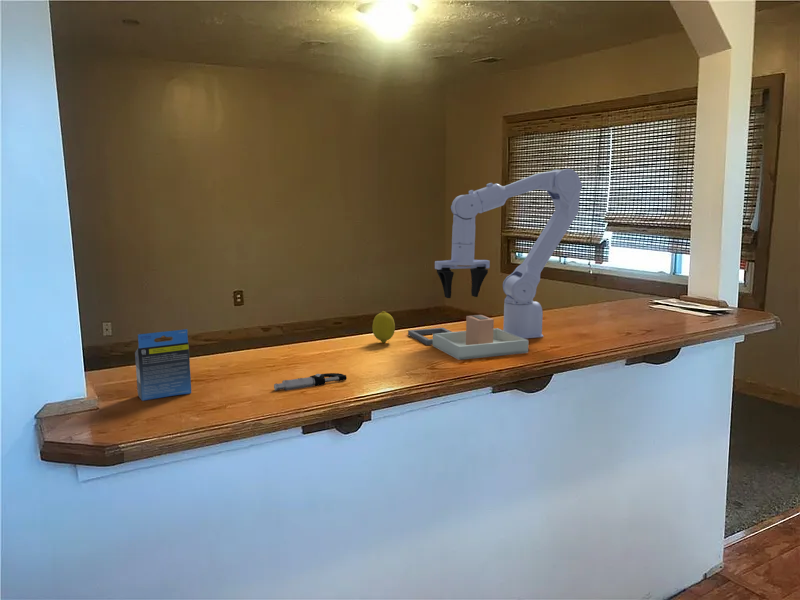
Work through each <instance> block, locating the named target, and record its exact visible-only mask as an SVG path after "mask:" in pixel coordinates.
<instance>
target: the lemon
mask: <svg viewBox="0 0 800 600" xmlns="http://www.w3.org/2000/svg"><path fill="white" fill-rule="evenodd" d="M371 327H372V334H373V335H374V337H375V338H376V339H377V340H379V341H380V342H381V343H382V344H385V343H386V342H387V341H388V340H390V339H392V338H393V336H394V334H395V332H396V331H395V330H396V324H395V320H394V317H393V316H392V315H391V314H390V313H388V312H387V311H386V310H385V311H384V310H382V311H381V312H380V313H378V314H376V315H375V316H374V318H373V320H372V326H371Z"/></svg>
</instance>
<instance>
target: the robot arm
mask: <svg viewBox="0 0 800 600" xmlns="http://www.w3.org/2000/svg"><path fill="white" fill-rule="evenodd" d="M485 185H486V186H484V187H482V188H479V189H476V190H474V189H470V190H468V194H460V195H458V196H455V198H454V199H453V201H452V202H451V205H450V209H451V213H452V214H453V217H452V221H453V222H452V233H451V235H452V236H451V254H450V255H451V258H450V259H448V260H447V259H445V260H435V261H434V270H436V273H437V275H438V277H439V280H440V281H441V286H442V289H443V294H444V298H446V299H451V298H452V284H453V277H454V274H455V272H454V271H452V270H453V269H454V270H457V269H459V270H460V269H462V270H463V269H469V270H470V276H471V288H470V289H471V297H474V298H478V297H479V294H480V293H479V292H480V289H481V286H482V284H483V281H484V279H485V278H486V276H487V275H488V272H489V270H488V269H490V268H491V267H490V266H491V264H490V262H491V260H488V259H475V251H476V250H475V248H476V247H475V246H476V242H475V241H476V216H477V215H478V214H482V213H484V212H485V213H486V212H488V211H491V210H495V209H496V208H500V207H502V206H504V205H505V204H506V201H507V200H508V199H510V198H512V197H516V196H519V195H523V194H526V193H529V192H533V191H535V190H538V191H539V190H540V191H546V192H547V194H548V195H549V196H550V198H551V199H552V202H553V205H554V209H555V210H554V212H553V213H552V215H551V217H550V218H549V220H548V221H547V223H546V225H545V226H544V228H543V229H542V231H541V232H540V234H539V236H538V238H537V239H536V241H535V242H534V244H533V246H532V247H531V249H530V250H529V251H528V254H527V255H526V256H525V259H524V260H523V261H522V263H520V264H519V265H517V267H516V268H515V269H514V270H513V272H511V273H510V274H509V275H507V276H506V277H505V279H504V280H503V282H502V289H503V293H504V294H505V295H506V296H505V298H504V305H503V328H502V330H504V331H506V332H509V333H511V334H514V335H516V336H519V337H521V338H524V339H536V338H544V334H543V307H542V305H541V303H540V302H538V301H536V300H535V301H534V298H535V297H536V294H537V287H538V285H539V283H540V282H541V272H542V271H543V269H544V268H545V267H546V265H547V263H548V261H549V260H550V258H551V257H552V255H553V254H554V252H555V250H556V249H557V248H558V246H559V244H560V242H561V241H562V239H563V237H564V236H565V234H566V232H567V231H568V230H569V228H570V226H571V225H572V223H573V222H574V220H575V219H576V217H577V216H578V213H579V208H580V207H579V206H580V197H581V191H582V189H583V184H582V181H581V179H580V176H579V174H578V172H577V171H576V170H573V169H572V168H563V169H553V170H550V171H544V172H539V173H535V174H532V175H530V176H526V177H525V178H524V177H523V178H522V179H519V180H517V181H514V182H512V183H509V184H506V185H501V184H500V183H493V182H489V183H487V184H485Z"/></svg>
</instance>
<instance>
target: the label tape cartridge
mask: <svg viewBox="0 0 800 600" xmlns="http://www.w3.org/2000/svg"><path fill="white" fill-rule="evenodd" d="M188 333H189V331H188V328H185V329H183V328H182V329H176V330H175V329H174V330H163V331H156V332H147V333H146V332H145V333H137V349H136V350H135V352H134V357H135V358H134V359H135V360H134V361H135V370H136V371H135V372H136V385H137V388H136V389H137V396H138V397H139V400H141V402H143V401H144V402H145V401H150V400H155V399H162V398H168V397H172V396H173V397H175V396H180V395H189V394H192V384H191V383H192V380H191V379H192V377H191V375H192V374H191V364H190V360H191V359H190V346H189V337H188ZM162 337H165V338H171V339H170V340H167V339H166V340H162V341H161V340H160V341H155V340H156V339H161V338H162Z"/></svg>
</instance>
